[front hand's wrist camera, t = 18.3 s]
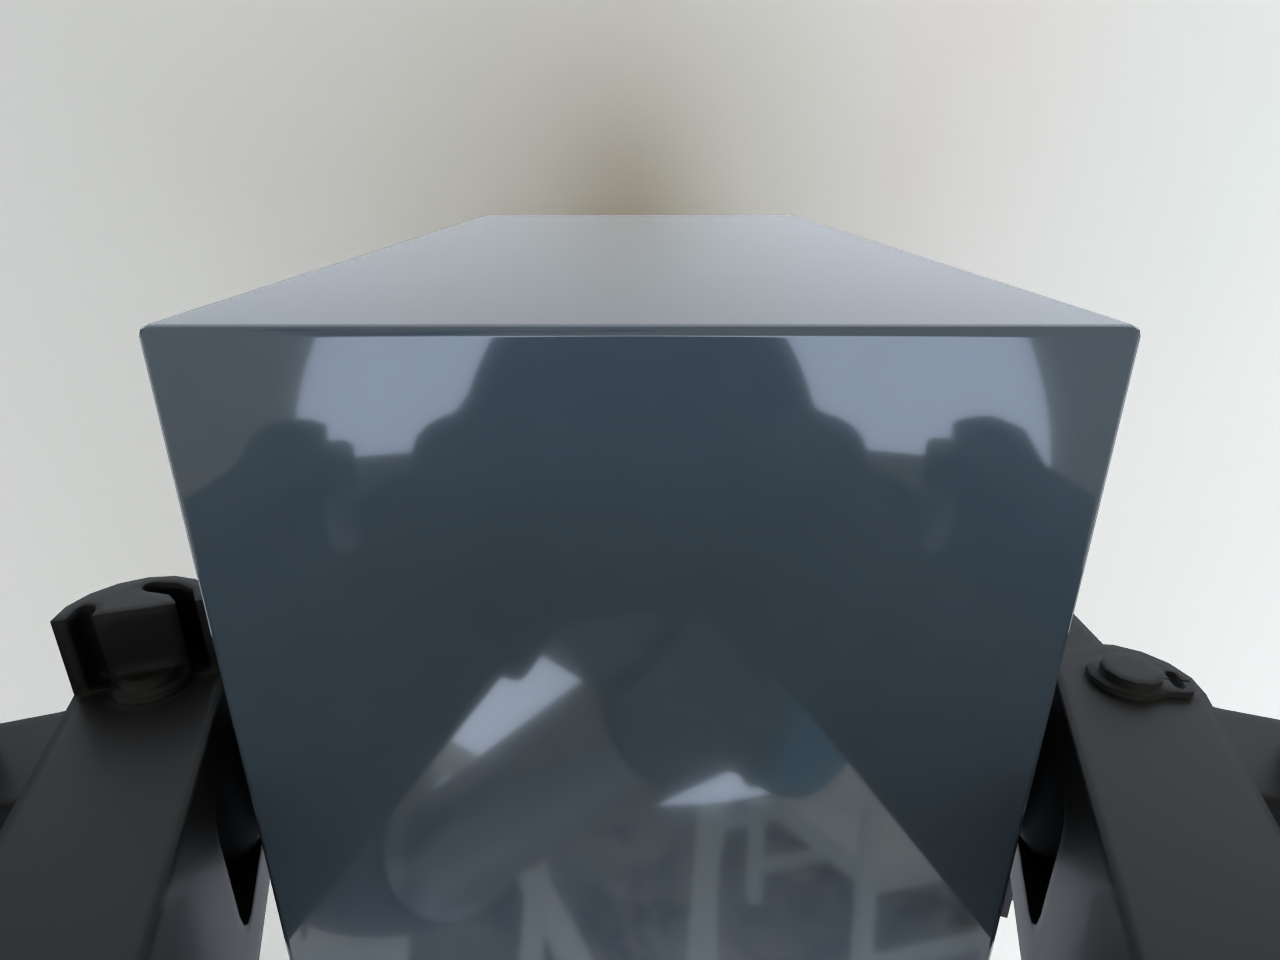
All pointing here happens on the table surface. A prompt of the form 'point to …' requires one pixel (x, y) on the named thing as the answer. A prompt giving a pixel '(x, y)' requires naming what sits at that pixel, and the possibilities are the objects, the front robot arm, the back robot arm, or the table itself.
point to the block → (639, 583)
